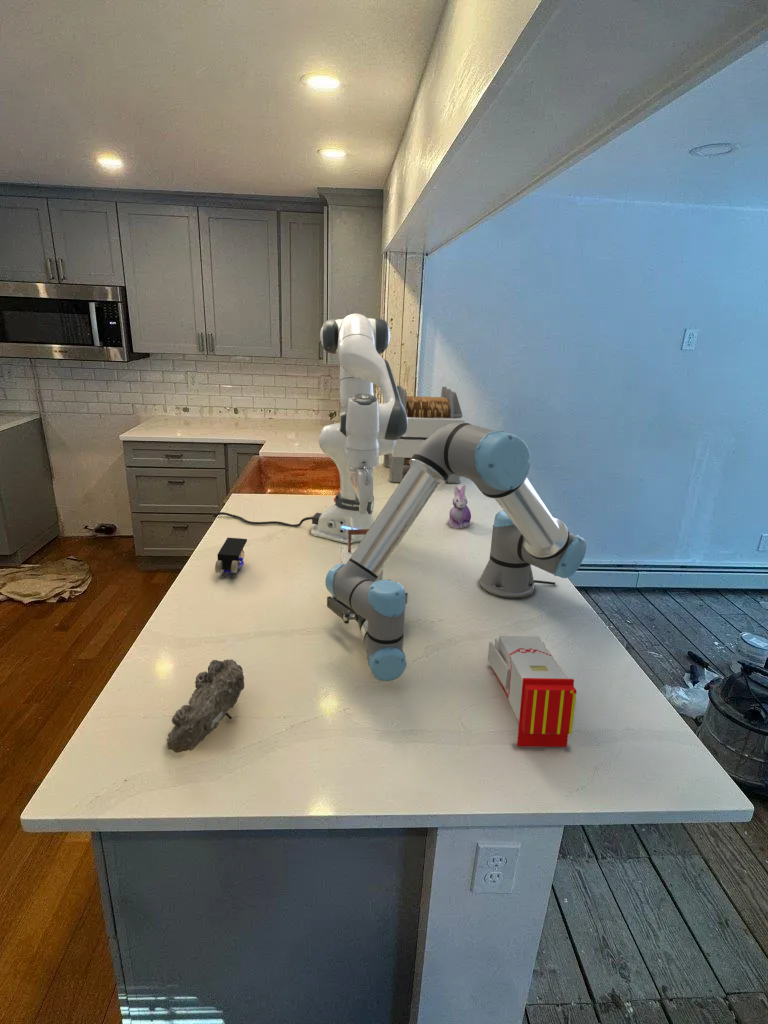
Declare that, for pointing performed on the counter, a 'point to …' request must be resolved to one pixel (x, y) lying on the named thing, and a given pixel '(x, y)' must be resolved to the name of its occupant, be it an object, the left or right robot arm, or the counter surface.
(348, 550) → the lid
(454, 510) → the figurine
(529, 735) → the toy
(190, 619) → the counter surface
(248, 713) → the counter surface
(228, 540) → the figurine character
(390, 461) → the transformer
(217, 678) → the fossil
